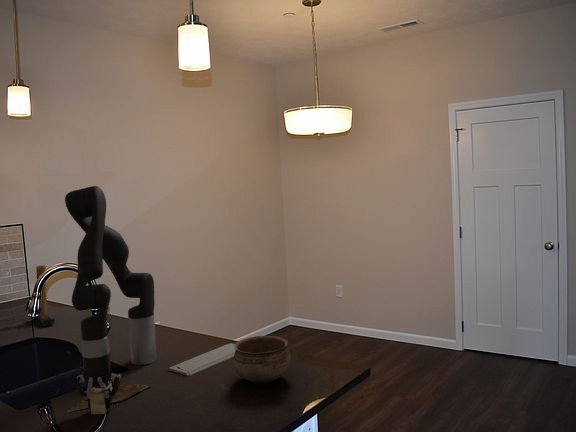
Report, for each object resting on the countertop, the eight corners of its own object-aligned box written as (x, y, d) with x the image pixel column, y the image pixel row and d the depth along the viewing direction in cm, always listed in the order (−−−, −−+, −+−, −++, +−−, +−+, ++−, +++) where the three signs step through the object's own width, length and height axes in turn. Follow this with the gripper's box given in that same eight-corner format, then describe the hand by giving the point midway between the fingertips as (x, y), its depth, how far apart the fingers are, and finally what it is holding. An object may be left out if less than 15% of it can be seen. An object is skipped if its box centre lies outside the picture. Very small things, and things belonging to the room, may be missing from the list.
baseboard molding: (252, 352, 201) (230, 346, 208) (252, 344, 201) (230, 339, 208) (191, 379, 177) (168, 372, 184) (191, 370, 176) (168, 364, 184)
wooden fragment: (143, 382, 175) (143, 379, 175) (156, 392, 166) (155, 389, 166) (61, 406, 160) (61, 402, 160) (70, 418, 151) (70, 415, 151)
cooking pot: (309, 383, 167) (307, 346, 166) (260, 401, 155) (258, 361, 154) (264, 363, 187) (263, 329, 186) (218, 377, 175) (216, 342, 174)
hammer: (55, 330, 250) (53, 271, 244) (44, 332, 247) (42, 273, 241) (41, 316, 265) (40, 260, 258) (31, 318, 261) (29, 261, 255)
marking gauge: (107, 396, 164) (106, 378, 163) (120, 396, 164) (118, 377, 163) (91, 414, 152) (89, 394, 151) (104, 413, 152) (103, 393, 151)
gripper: (124, 347, 156) (128, 403, 157) (78, 348, 156) (82, 404, 158) (114, 356, 148) (119, 414, 150) (66, 357, 149) (71, 415, 150)
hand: (100, 408), depth 154 cm, fingers closed on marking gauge, 4 cm apart
